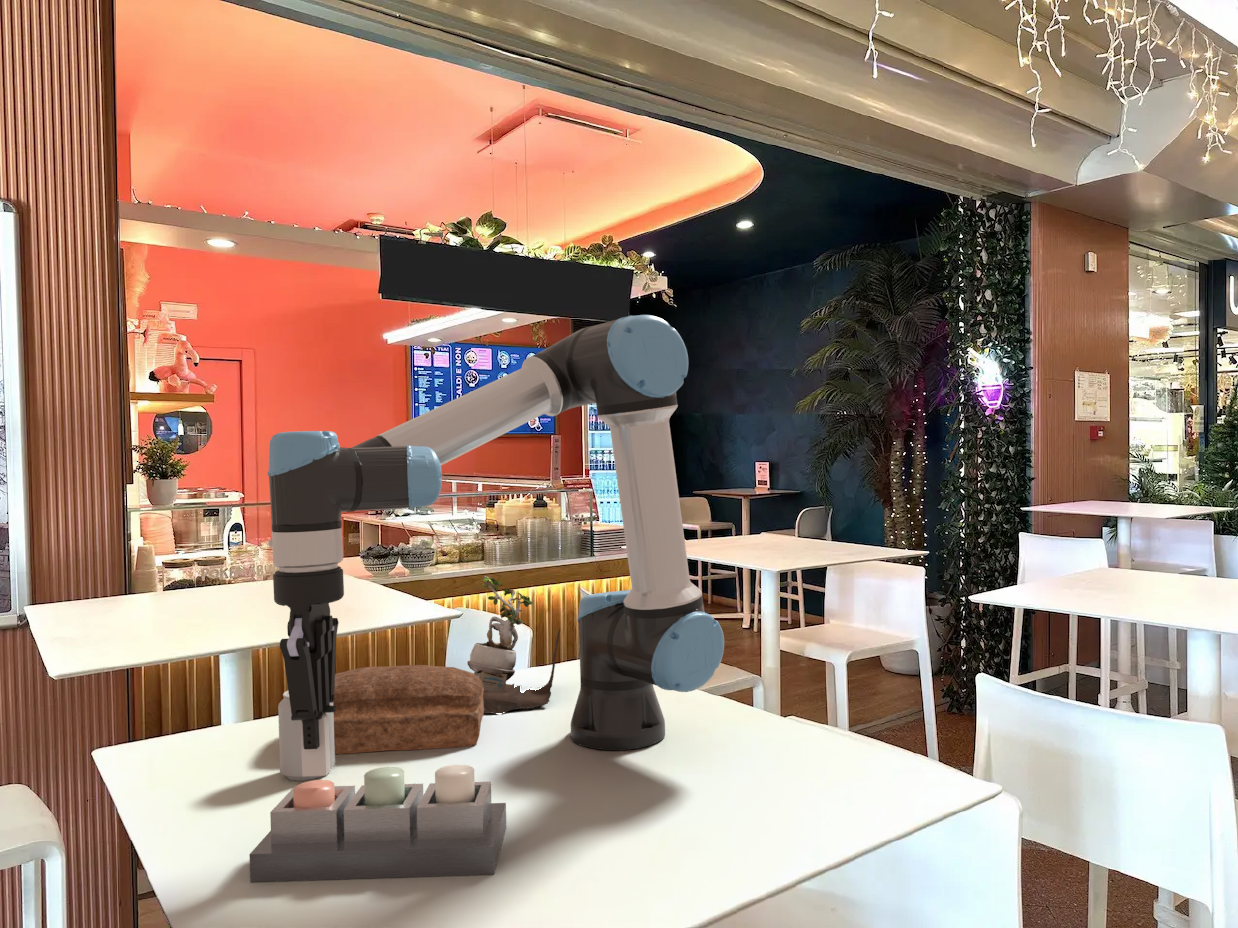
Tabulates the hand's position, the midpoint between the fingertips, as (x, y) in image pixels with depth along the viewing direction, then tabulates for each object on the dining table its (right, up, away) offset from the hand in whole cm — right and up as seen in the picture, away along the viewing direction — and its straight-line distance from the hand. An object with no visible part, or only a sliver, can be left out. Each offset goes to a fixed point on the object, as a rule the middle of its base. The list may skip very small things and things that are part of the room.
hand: (316, 773), depth 100 cm
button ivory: (+16, -4, 0) cm, 16 cm away
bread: (-2, -10, +43) cm, 44 cm away
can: (-10, -10, +27) cm, 30 cm away
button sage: (+8, -5, 0) cm, 9 cm away
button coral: (0, -6, 0) cm, 6 cm away
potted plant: (+13, -9, +64) cm, 66 cm away
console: (+8, -9, 0) cm, 12 cm away
